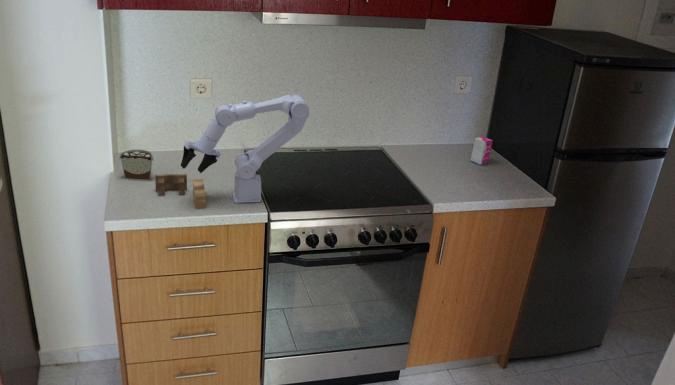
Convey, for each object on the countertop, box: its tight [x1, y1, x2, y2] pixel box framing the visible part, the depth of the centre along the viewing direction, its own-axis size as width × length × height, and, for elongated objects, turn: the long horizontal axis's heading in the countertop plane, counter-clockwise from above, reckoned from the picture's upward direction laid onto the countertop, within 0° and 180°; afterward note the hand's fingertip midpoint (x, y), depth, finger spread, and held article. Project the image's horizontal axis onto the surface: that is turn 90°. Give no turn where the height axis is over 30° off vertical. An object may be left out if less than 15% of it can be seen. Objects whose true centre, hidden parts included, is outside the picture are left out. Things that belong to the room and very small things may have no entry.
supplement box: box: [469, 136, 494, 166], centre depth 268 cm, size 6×6×12 cm
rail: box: [192, 178, 207, 210], centre depth 213 cm, size 14×4×5 cm, turn 16°
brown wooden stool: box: [154, 173, 188, 197], centre depth 216 cm, size 11×5×6 cm, turn 105°
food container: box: [118, 149, 155, 182], centre depth 225 cm, size 12×6×10 cm, turn 92°
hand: (191, 169), depth 208 cm, fingers open, 7 cm apart
